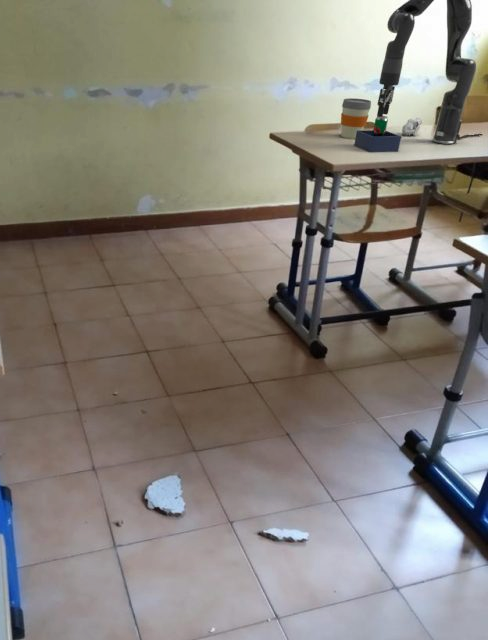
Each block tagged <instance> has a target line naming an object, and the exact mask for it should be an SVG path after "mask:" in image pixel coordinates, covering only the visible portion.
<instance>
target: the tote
mask: <svg viewBox="0 0 488 640" xmlns="http://www.w3.org/2000/svg"><path fill="white" fill-rule="evenodd" d="M372 134H373V129H371V130H370V129H368V130H364V129H363V131H357V133H356V139H354V145H353V146H356V147H358V149H362V150H364V151H366V152H368V153H392V152H399V151H400V150H399V149H400V144H401V140H402V136H401V135H399V134H396V133H394V132H391V131H389V130H388V131H387V130H386V132H385V136H382V137H373V136H372Z"/></svg>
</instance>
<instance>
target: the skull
mask: <svg viewBox="0 0 488 640" xmlns="http://www.w3.org/2000/svg"><path fill="white" fill-rule="evenodd" d="M422 124H423V120H422V118H420V117H416V118H414V119H412V118H409V119H408V120H407V121H406V123H405V124H403V126H402V129H401V133H402V135H403V136H406V137H407V136H409V137H410V136H411V135H413V136H414V137H415V136H418V133H419V131H420V128H421V125H422Z"/></svg>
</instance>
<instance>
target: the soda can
mask: <svg viewBox="0 0 488 640" xmlns="http://www.w3.org/2000/svg"><path fill="white" fill-rule="evenodd" d="M388 121H389V119H388V116H385V115H383V116H382V117H378V116H377V115H376V118H375V119H374V124H373V129H372V130H373V134H372V136H373V137H382V136H385V132H386V131H387V126H388Z"/></svg>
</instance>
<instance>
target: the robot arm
mask: <svg viewBox="0 0 488 640" xmlns="http://www.w3.org/2000/svg"><path fill="white" fill-rule="evenodd" d="M434 1H435V0H407V1H406V2H404V3H403V4H402V5H400V6H399V7H398V8H396V9H395V10H394V11H393V12H392V13H391V15H390V16H389V18H388V20H387V24H386V25H387V26H386V27H387V30H388V31H389V32H390V33H392V34H396V35H395V38H394V39H393V40H390V41H389V42H388V43H387V45H386V50H385V54H384V59H383V63H382V67H381V72H380V77H379V82H378V83H379V85H383V88H380V89H379V94H378V100H377V106H378V109H377V113H376V117H377V116H378V117H382V116H384V115H388V114H389V110H390V105H391V104H392V102H393V98H394V93H395V88H396V86H398V85H399V84H400V79H401V73H402V68H403V63H404V62H403V61H404V56H405V52H406V47H407V45H408V43H409V41H410V38H411V36H412V33H413V31H414V29H415V23H416V20H415V17H419V16H421V15H422V14H423V13H424V12H425V11H426V10H427V9H428V8H429V7H430V6H431V4H432V3H434ZM472 20H473V5H472V1H471V0H446V32H447V33H446V35H447V38H446V39H447V41H446V57H445V78H446V80H447V81H449V82H451V83H456V84H455V87H454V88H453V89H452V90H448V91H446V92H444V94H443V97H442V101H441V106H440V110H439V114H438V118H437V123H436V126H435V131H434V133H433V138H432V142H433V143H435V144H441V145H454V144H457V141H458V140H461V139H463V138H467V137H468V138H469V137H478V136H477V135H480V136H482V134H480V133H473V134H474V135H469V134H464V135H462V136H460V134H459V133H460V131H461V126H462V123H463V120H462V119H461V118H462V115H463V111H464V109H465V108H464V107H465V105H466V99H467V97H468V95H469V94H470V92H471V88H472V85H473V81H474V79H475V75H476V71H477V63H476V61H475V60H474V59H472V58H464V57H462V45H463V42H464V40H465V37H466V36H467V35H468V32H469V31H470V28H471V25H472V22H473V21H472ZM473 181H474V178H472V177H471V178H470V182H469V186H468V188H467V192H466V195H467V194H468V193H469V194H470V191H471V189H472V184H473ZM463 215H464V212H462V211H461V213H460V216H459V220H458V223H461V222H462V219H463Z"/></svg>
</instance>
